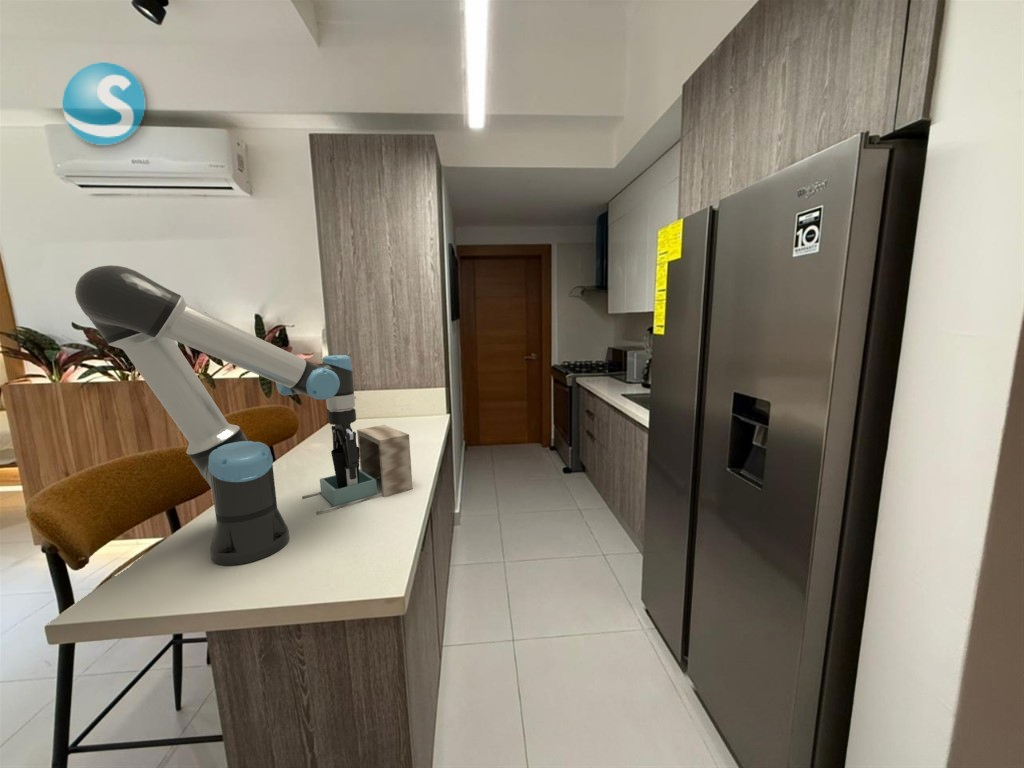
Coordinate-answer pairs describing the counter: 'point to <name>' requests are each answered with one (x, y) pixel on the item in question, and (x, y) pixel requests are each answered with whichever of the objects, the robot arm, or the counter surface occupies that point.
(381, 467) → the sliding drawer cabinet
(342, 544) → the counter surface
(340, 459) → the cup
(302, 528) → the counter surface
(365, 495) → the tray
